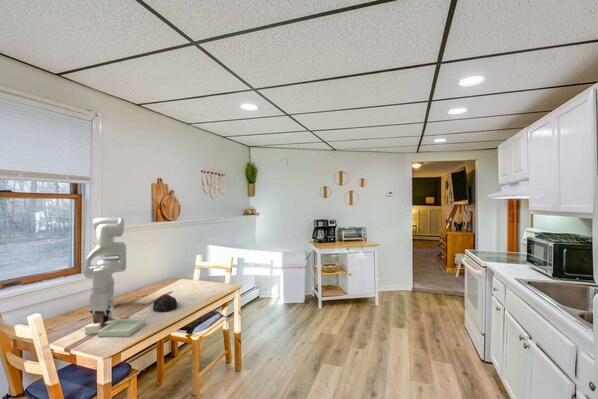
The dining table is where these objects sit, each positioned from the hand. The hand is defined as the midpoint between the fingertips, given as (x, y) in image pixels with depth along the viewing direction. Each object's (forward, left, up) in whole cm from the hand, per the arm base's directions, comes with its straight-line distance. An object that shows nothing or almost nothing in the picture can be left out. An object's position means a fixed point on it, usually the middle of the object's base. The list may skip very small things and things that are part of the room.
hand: (100, 321), depth 167 cm
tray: (+16, -7, -2) cm, 18 cm away
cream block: (+2, -10, -2) cm, 10 cm away
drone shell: (+23, +30, -3) cm, 38 cm away
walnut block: (0, 0, -1) cm, 1 cm away
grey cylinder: (-2, +8, -2) cm, 9 cm away
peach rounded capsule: (+10, +5, -2) cm, 12 cm away
